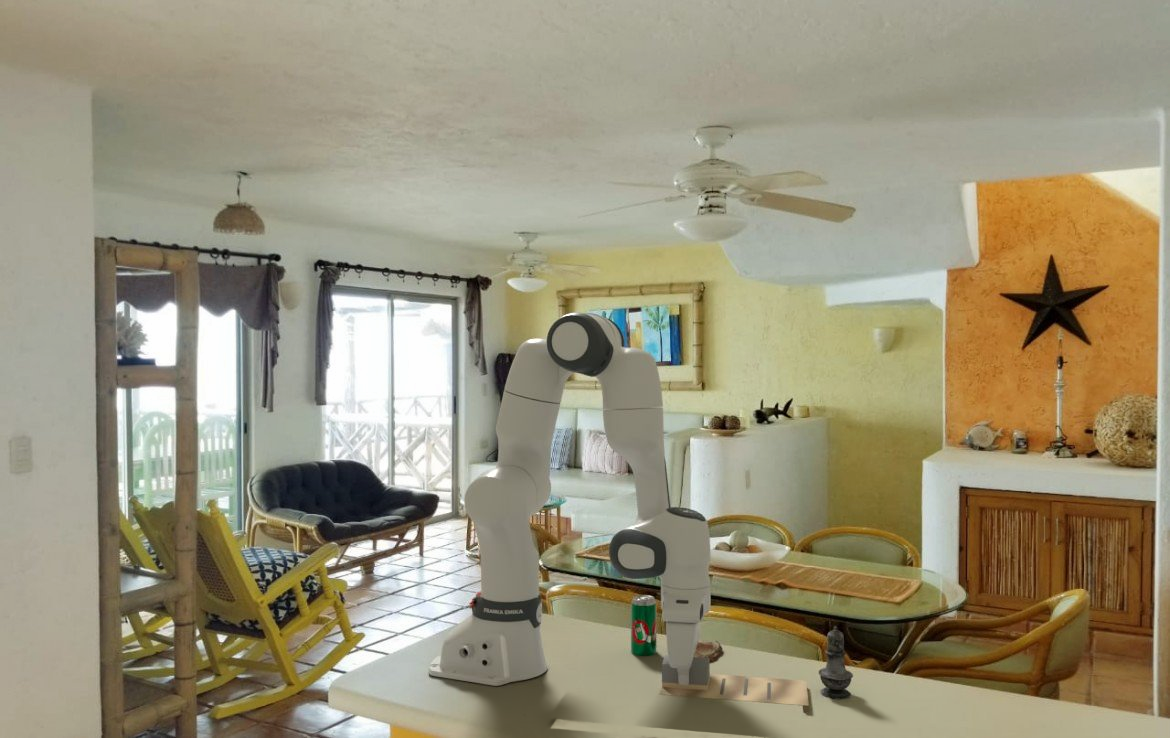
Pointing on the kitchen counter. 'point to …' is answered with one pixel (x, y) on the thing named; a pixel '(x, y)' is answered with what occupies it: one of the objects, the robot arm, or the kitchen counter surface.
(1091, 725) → the kitchen counter surface
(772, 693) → the board
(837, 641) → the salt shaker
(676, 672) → the block
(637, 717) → the kitchen counter surface
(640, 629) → the soda can
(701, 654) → the oyster shell
